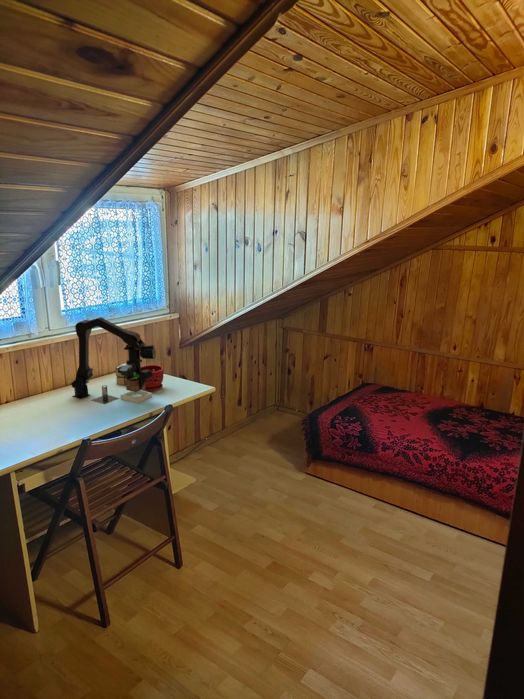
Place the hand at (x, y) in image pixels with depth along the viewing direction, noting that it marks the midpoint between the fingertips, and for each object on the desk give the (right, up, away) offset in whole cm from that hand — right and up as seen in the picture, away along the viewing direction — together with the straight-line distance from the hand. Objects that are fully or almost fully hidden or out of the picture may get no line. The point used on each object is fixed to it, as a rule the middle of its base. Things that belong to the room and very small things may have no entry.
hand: (135, 387), depth 235 cm
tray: (0, -6, +1) cm, 6 cm away
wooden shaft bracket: (0, -1, 0) cm, 1 cm away
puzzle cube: (-11, 0, +25) cm, 27 cm away
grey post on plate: (-15, -6, -1) cm, 16 cm away
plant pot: (+4, -2, +16) cm, 17 cm away
